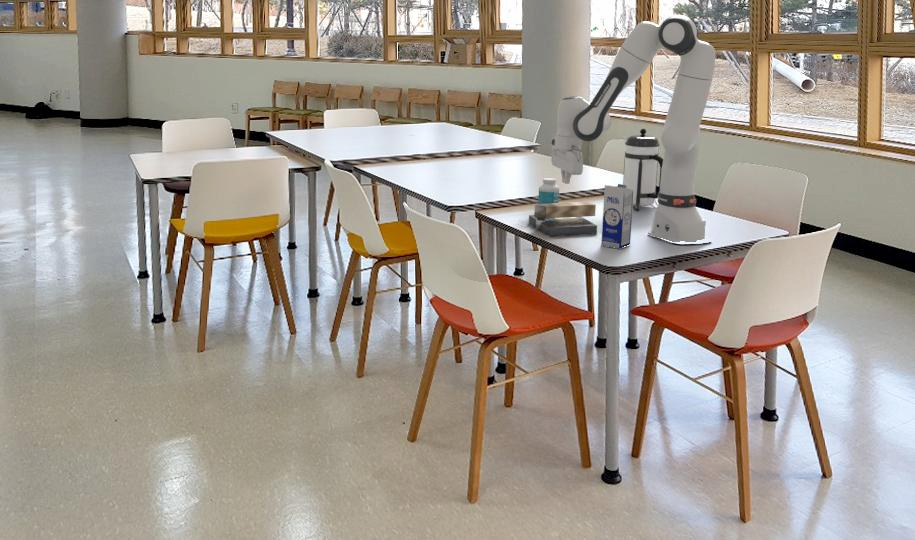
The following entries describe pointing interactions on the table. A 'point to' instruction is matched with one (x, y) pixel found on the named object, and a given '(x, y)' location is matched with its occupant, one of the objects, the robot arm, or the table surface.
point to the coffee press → (642, 168)
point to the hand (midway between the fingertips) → (565, 183)
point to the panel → (563, 226)
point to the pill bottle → (548, 192)
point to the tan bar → (564, 210)
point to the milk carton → (617, 216)
